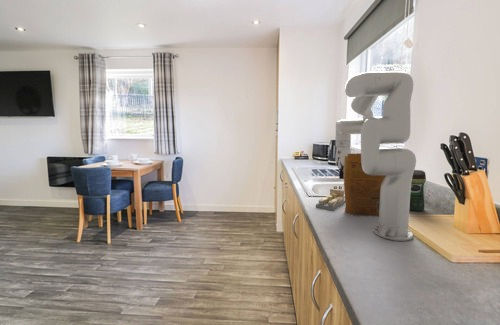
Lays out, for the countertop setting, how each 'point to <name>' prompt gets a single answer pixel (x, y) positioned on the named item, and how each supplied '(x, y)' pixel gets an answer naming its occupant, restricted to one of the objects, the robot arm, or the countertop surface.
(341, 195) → the ginger root
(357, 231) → the countertop surface
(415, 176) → the coffee jar
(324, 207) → the board
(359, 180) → the pancake mix bag
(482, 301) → the countertop surface
